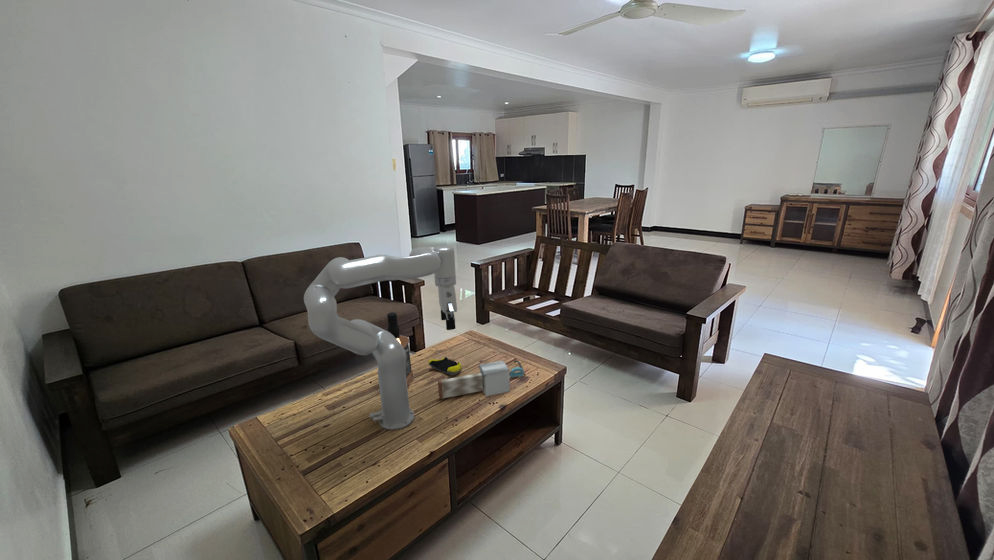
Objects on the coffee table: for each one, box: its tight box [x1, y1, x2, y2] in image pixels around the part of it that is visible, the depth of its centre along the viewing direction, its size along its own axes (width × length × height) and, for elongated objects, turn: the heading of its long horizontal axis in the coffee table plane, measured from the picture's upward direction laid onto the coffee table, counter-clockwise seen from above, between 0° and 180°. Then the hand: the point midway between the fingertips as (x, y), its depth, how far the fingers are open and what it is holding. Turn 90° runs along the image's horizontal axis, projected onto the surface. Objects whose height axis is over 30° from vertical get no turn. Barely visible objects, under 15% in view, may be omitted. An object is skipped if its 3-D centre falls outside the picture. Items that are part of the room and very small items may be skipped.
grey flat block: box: [437, 372, 483, 400], centre depth 159 cm, size 18×2×7 cm, turn 108°
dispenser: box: [478, 360, 511, 397], centre depth 163 cm, size 10×8×10 cm
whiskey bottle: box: [386, 311, 415, 389], centre depth 165 cm, size 10×10×32 cm
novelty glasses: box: [509, 359, 525, 378], centre depth 178 cm, size 14×15×5 cm
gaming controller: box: [428, 356, 462, 376], centre depth 178 cm, size 15×6×10 cm
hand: (448, 324), depth 148 cm, fingers open, 9 cm apart
